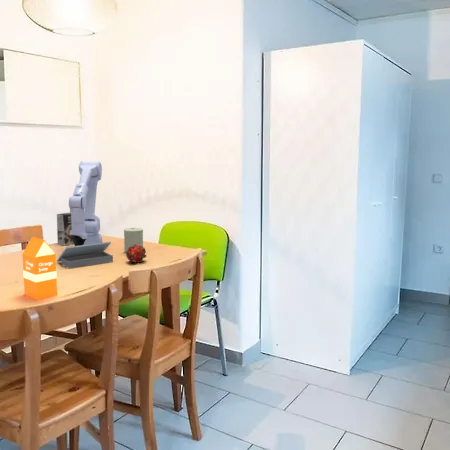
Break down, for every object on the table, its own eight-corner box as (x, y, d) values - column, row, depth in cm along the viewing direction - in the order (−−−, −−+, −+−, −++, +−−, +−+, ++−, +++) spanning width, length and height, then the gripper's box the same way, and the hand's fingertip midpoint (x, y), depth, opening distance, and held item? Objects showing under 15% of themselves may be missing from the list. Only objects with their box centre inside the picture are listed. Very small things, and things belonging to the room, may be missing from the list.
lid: (100, 255, 230) (98, 250, 230) (111, 242, 220) (109, 237, 221) (57, 261, 217) (55, 256, 218) (66, 248, 207) (65, 242, 208)
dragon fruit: (143, 262, 227) (133, 272, 215) (128, 251, 227) (117, 260, 215) (152, 248, 223) (142, 258, 212) (137, 237, 223) (127, 246, 212)
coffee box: (65, 246, 252) (64, 214, 250) (57, 244, 256) (56, 213, 253) (79, 243, 260) (78, 213, 257) (71, 241, 263) (70, 212, 261)
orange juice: (36, 299, 166) (33, 241, 163) (24, 294, 172) (21, 237, 168) (57, 294, 172) (55, 238, 168) (45, 289, 177) (42, 235, 174)
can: (141, 250, 245) (141, 226, 243) (144, 254, 236) (144, 229, 234) (123, 251, 242) (122, 227, 240) (125, 255, 233) (124, 230, 232)
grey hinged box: (103, 258, 227) (103, 251, 226) (112, 261, 220) (112, 255, 219) (61, 264, 214) (61, 257, 213) (69, 268, 207) (69, 261, 207)
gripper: (63, 221, 224) (64, 250, 226) (76, 225, 213) (77, 256, 215) (78, 220, 228) (79, 248, 230) (91, 224, 217) (92, 254, 219)
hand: (79, 252), depth 223 cm, fingers closed
